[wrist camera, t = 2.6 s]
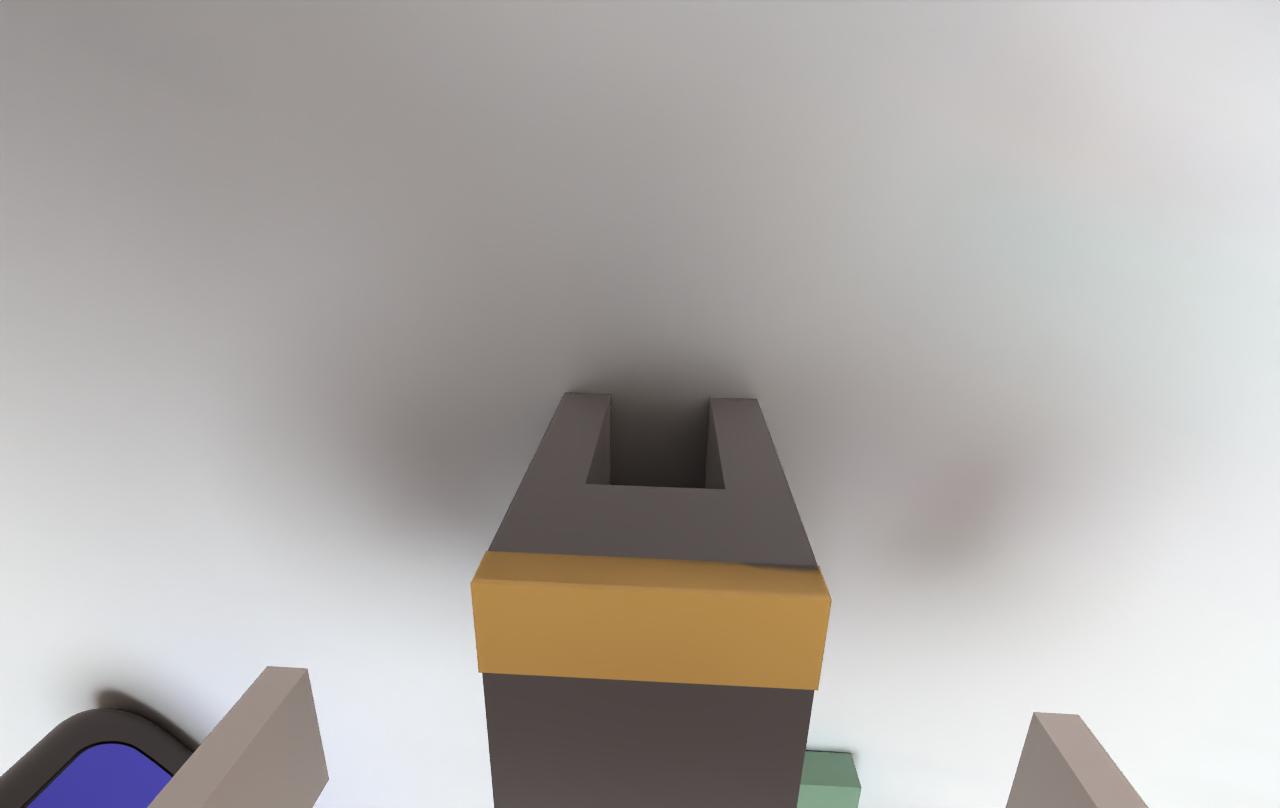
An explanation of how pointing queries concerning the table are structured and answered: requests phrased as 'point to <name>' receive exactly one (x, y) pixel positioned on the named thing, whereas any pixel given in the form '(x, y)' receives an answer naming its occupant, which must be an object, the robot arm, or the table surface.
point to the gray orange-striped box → (649, 626)
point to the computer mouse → (95, 764)
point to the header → (828, 781)
